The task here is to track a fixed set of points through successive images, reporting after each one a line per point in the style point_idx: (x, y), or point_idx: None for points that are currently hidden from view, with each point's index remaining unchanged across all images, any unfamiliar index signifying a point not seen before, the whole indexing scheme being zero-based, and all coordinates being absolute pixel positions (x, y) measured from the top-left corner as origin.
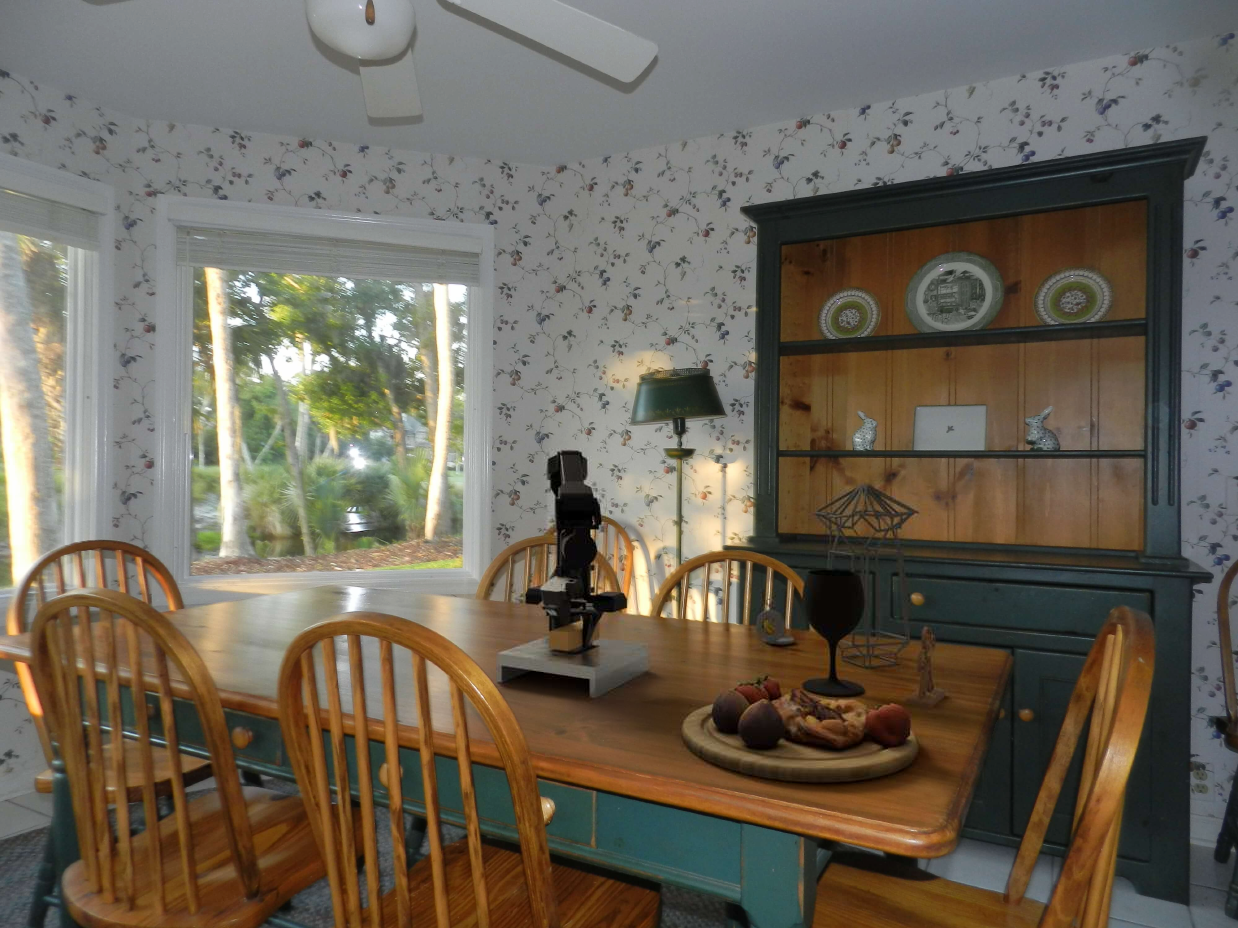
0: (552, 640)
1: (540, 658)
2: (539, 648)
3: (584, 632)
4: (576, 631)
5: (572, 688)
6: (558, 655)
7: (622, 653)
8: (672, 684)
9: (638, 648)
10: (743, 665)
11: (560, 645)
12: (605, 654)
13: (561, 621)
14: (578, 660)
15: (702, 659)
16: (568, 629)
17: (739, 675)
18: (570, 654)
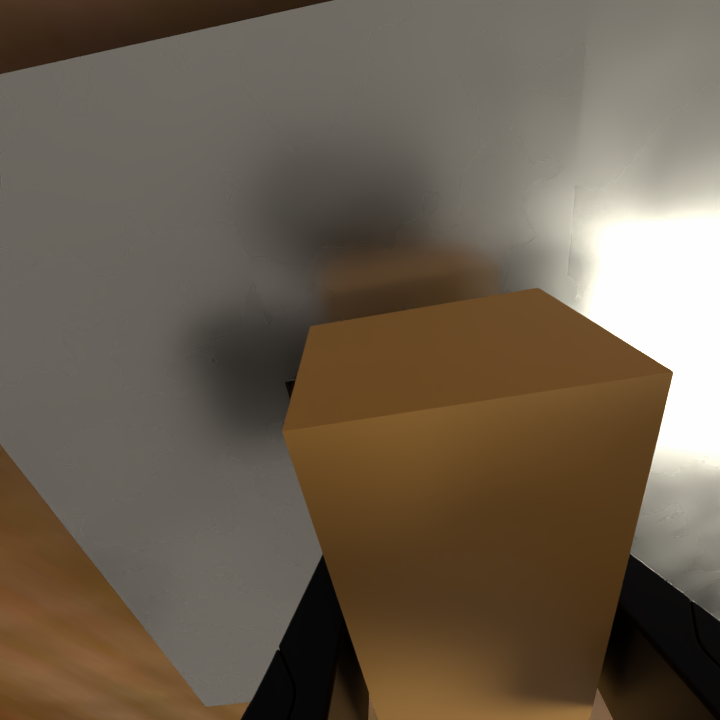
0: (530, 325)
1: (472, 38)
2: (680, 351)
3: (319, 619)
4: (335, 579)
5: None
6: (397, 273)
7: (115, 559)
8: (31, 520)
9: (164, 650)
10: (97, 717)
11: (403, 327)
12: (159, 496)
13: (680, 699)
14: (124, 248)
15: (220, 706)
16: (467, 582)
17: (11, 667)
18: None
